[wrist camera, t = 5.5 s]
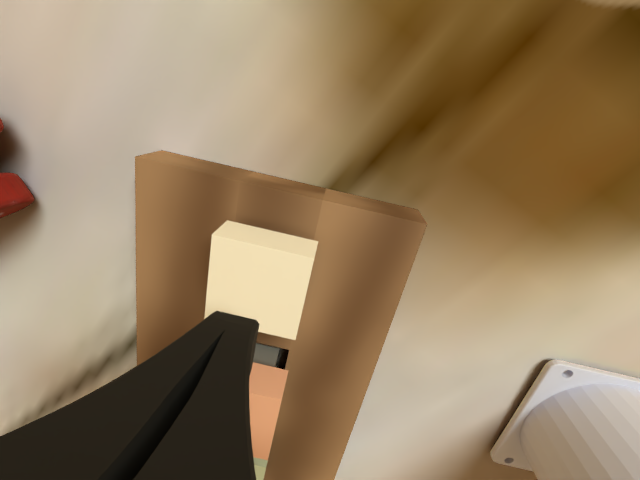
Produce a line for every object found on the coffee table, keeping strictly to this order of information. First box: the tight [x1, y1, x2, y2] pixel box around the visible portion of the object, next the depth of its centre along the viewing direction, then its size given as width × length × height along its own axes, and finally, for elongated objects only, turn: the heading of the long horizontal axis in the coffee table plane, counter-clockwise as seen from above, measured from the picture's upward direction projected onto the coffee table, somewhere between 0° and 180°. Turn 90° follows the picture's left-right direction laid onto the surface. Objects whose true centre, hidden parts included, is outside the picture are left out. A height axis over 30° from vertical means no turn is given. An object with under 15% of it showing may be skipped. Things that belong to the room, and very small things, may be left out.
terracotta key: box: [249, 343, 289, 460], centre depth 16 cm, size 4×4×4 cm
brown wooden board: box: [135, 150, 427, 480], centre depth 19 cm, size 12×25×2 cm, turn 168°
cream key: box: [204, 220, 318, 340], centre depth 14 cm, size 4×4×4 cm
